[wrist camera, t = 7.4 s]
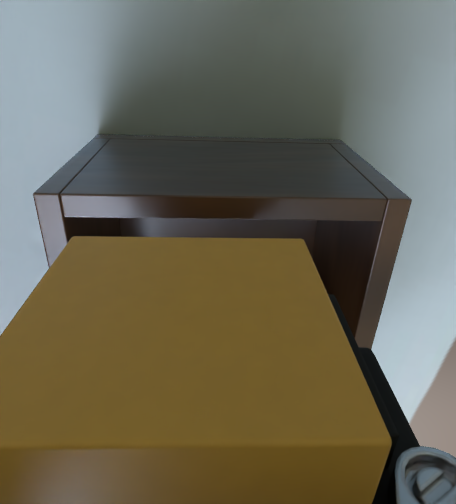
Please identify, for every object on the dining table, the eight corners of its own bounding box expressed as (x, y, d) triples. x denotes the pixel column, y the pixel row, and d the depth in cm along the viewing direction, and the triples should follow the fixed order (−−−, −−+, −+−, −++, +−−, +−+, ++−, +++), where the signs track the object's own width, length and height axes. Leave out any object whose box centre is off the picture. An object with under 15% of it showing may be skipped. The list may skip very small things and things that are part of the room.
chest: (96, 134, 21) (32, 193, 14) (341, 139, 22) (412, 199, 14) (125, 365, 29) (95, 484, 22) (303, 364, 30) (336, 480, 22)
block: (71, 234, 9) (-85, 446, 4) (304, 237, 9) (395, 442, 5) (100, 400, 12) (22, 647, 7) (283, 399, 12) (328, 639, 7)
